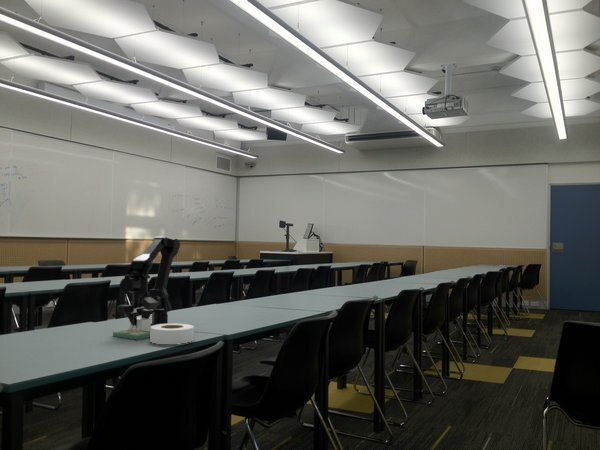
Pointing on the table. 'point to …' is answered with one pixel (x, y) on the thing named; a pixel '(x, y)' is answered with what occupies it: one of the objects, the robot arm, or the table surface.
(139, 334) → the header board
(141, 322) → the block
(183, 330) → the roll of tape
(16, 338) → the table surface
